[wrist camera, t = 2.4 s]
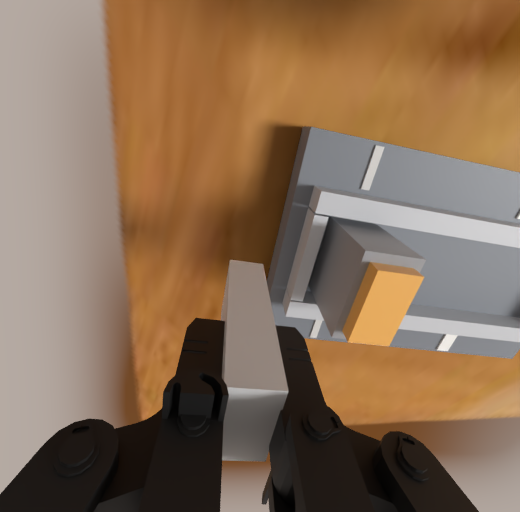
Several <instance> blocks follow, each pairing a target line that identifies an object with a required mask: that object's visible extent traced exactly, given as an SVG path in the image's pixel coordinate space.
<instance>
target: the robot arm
mask: <svg viewBox="0 0 520 512" xmlns="http://www.w3.org/2000/svg"><path fill="white" fill-rule="evenodd" d="M268 452H270V462H271V471H270V474H269V477H268V480H267V483H266V486H265V488H264V491H263V496H262V504H266V503H267V500H268V498H269V510H270V512H479V511H478V510H477V509H476V507H475V506H474V505H473V504H472V502H471V501H470V500H469V499H468V498H467V496H466V495H465V494H464V493H463V491H462V490H461V489H460V488H459V486H458V485H457V484H456V482H455V481H454V480H453V479H452V477H451V476H450V475H449V474H448V473H447V471H446V470H445V469H444V467H443V466H442V465H441V464H440V462H439V461H438V460H437V459H436V457H435V456H434V455H433V454H432V453H431V452H430V451H429V450H428V449H427V448H426V447H425V446H424V444H423V443H421V442H420V441H418V440H416V439H415V438H414V437H412V436H411V435H408V434H405V433H402V432H389V433H387V434H386V435H384V436H383V438H382V440H381V441H379V440H376V439H374V438H371V437H368V436H366V435H363V434H360V433H358V432H355V431H353V430H351V429H349V428H347V427H346V426H344V425H343V423H342V422H341V420H340V418H339V416H338V415H337V414H336V413H335V412H334V411H333V410H332V409H331V408H330V407H328V406H327V405H326V403H325V401H324V398H323V395H322V392H321V389H320V385H319V382H318V379H317V376H316V373H315V370H314V367H313V364H312V362H311V358H310V355H309V352H308V349H307V345H306V342H305V339H304V337H303V336H302V335H301V334H300V332H299V331H298V330H297V329H296V328H295V327H288V326H278V325H275V321H274V316H273V311H272V306H271V301H270V296H269V291H268V286H267V281H266V276H265V271H264V266H263V264H260V263H252V262H245V261H238V260H230V262H229V268H228V274H227V281H226V287H225V293H224V299H223V305H222V313H221V321H220V320H210V319H200V318H195V320H194V321H193V322H192V323H191V324H190V325H189V326H188V327H187V330H186V334H185V339H184V343H183V347H182V351H181V355H180V359H179V363H178V367H177V371H176V375H175V376H174V377H173V378H172V379H171V380H170V381H169V382H168V384H167V386H166V388H165V390H164V392H163V407H162V409H161V410H160V411H159V412H157V413H156V414H155V415H153V416H152V417H150V418H148V419H146V420H144V421H141V422H138V423H136V424H132V425H128V426H124V427H120V428H116V429H114V427H113V426H112V425H111V424H109V423H107V422H105V421H103V420H99V419H86V420H82V421H78V422H74V423H73V424H70V425H68V426H67V427H65V428H63V429H61V430H59V431H58V432H57V433H56V434H55V435H53V436H52V437H51V438H50V439H49V440H48V441H47V442H46V443H45V444H44V445H43V446H42V447H41V448H40V449H39V450H38V452H37V453H36V454H35V455H34V456H33V457H32V459H31V460H30V461H29V462H28V463H27V464H26V465H25V467H24V468H23V469H22V470H21V471H20V472H19V473H18V475H17V476H16V477H15V478H14V479H13V480H12V482H11V483H10V484H9V485H8V486H7V487H6V488H5V490H4V491H3V492H2V493H1V494H0V512H220V496H221V495H220V494H221V471H222V460H232V461H266V458H267V455H268Z"/></svg>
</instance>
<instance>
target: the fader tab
mask: <svg viewBox="0 0 520 512" xmlns="http://www.w3.org/2000/svg"><path fill="white" fill-rule="evenodd" d="M425 261H426V259H424V258H423V257H422V256H420V255H419V254H417V253H416V252H415V251H413V250H412V249H410V248H409V247H408V246H406V245H405V244H403V243H402V242H401V241H399V240H398V239H396V238H395V237H394V236H392V235H391V234H389V233H388V232H387V231H385V230H384V229H382V228H381V227H379V226H378V225H377V224H373V223H367V222H361V221H355V220H349V219H344V218H338V217H332V216H331V217H330V220H329V223H328V226H327V230H326V233H325V236H324V239H323V242H322V246H321V249H320V252H319V255H318V259H317V262H316V265H315V268H314V271H313V275H312V278H311V281H310V284H309V288H310V290H311V292H312V294H313V297H314V299H315V301H316V303H317V306H318V308H319V310H320V312H321V315H322V317H323V319H324V321H325V324H326V326H327V328H328V330H329V333H330V335H331V337H332V338H339V339H346V340H347V342H351V343H361V344H371V345H381V346H390V344H391V342H392V340H393V338H394V336H395V334H396V332H397V330H398V328H399V326H400V324H401V322H402V320H403V318H404V316H405V314H406V312H407V310H408V308H409V306H410V304H411V302H412V301H413V299H414V297H415V295H416V293H417V291H418V289H419V287H420V285H421V283H422V281H423V279H424V276H423V275H422V274H420V271H421V269H422V267H423V265H424V263H425Z"/></svg>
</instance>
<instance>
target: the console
mask: <svg viewBox="0 0 520 512" xmlns="http://www.w3.org/2000/svg"><path fill="white" fill-rule="evenodd" d="M331 216H332V217H338V218H344V219H349V220H355V221H361V222H367V223H373V224H377V225H378V226H379V227H381V228H382V229H384V230H385V231H387V232H388V233H389V234H391V235H392V236H394V237H395V238H396V239H398V240H399V241H401V242H402V243H403V244H405V245H406V246H408V247H409V248H410V249H412V250H413V251H415V252H416V253H417V254H419V255H420V256H422V257H423V258H424V259H426V261H425V263H424V265H423V267H422V269H421V271H420V274H422V275H423V276H424V279H423V281H422V283H421V285H420V287H419V289H418V291H417V293H416V295H415V297H414V299H413V301H412V302H411V304H410V306H409V308H408V310H407V312H406V314H405V316H404V318H403V320H402V322H401V324H400V326H399V328H398V330H397V332H396V334H395V336H394V338H393V340H392V342H391V344H390V346H389V347H400V348H410V349H420V350H430V351H440V352H450V353H460V354H470V355H481V356H491V357H501V358H511V359H512V358H513V357H514V356H515V354H516V353H517V352H518V351H519V349H520V173H519V172H514V171H510V170H505V169H501V168H496V167H492V166H487V165H483V164H478V163H473V162H469V161H464V160H460V159H455V158H451V157H446V156H442V155H437V154H433V153H428V152H423V151H419V150H414V149H410V148H405V147H401V146H396V145H392V144H387V143H383V142H378V141H373V140H369V139H364V138H360V137H355V136H351V135H346V134H342V133H337V132H333V131H328V130H324V129H319V128H314V127H303V128H302V133H301V137H300V141H299V145H298V150H297V154H296V158H295V163H294V167H293V171H292V175H291V180H290V184H289V188H288V192H287V197H286V201H285V205H284V210H283V214H282V218H281V222H280V227H279V231H278V235H277V240H276V244H275V248H274V252H273V257H272V261H271V265H270V270H269V274H268V278H267V286H268V291H269V296H270V301H271V306H272V311H273V316H274V321H275V325H278V326H288V327H295V328H296V329H297V330H298V331H299V332H300V334H301V335H302V336H303V337H304V338H308V339H319V340H329V341H339V342H347V340H346V339H339V338H332V337H331V335H330V333H329V330H328V328H327V326H326V324H325V321H324V319H323V317H322V315H321V312H320V310H319V308H318V306H317V303H316V301H315V299H314V297H313V294H312V292H311V290H310V288H309V284H310V281H311V278H312V275H313V271H314V268H315V265H316V262H317V259H318V255H319V252H320V249H321V246H322V242H323V239H324V236H325V233H326V230H327V226H328V223H329V220H330V217H331ZM349 343H351V342H349ZM359 344H361V343H359ZM369 345H371V344H369ZM379 346H381V345H379Z"/></svg>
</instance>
